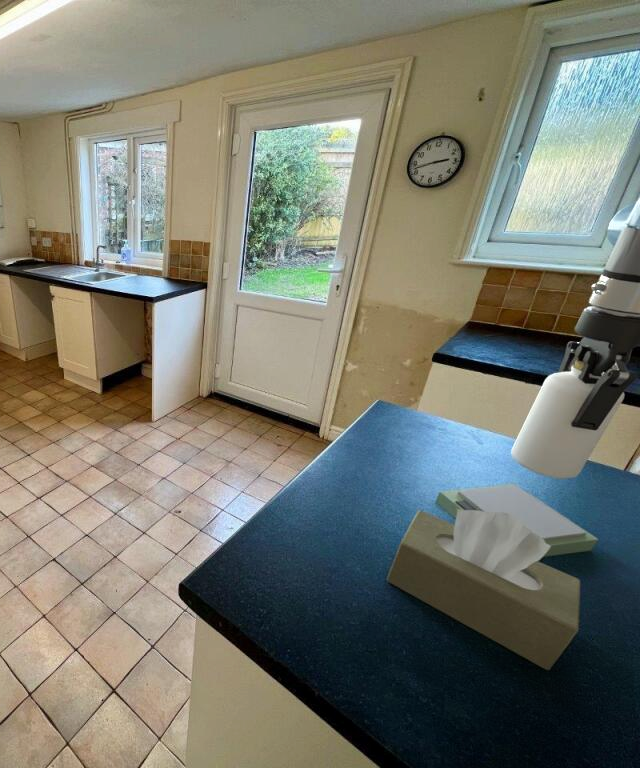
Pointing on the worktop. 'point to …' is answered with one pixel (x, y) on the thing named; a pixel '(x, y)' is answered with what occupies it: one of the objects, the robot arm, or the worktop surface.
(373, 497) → the worktop surface
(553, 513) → the kitchen scale
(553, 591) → the tissue box
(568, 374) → the white bottle
